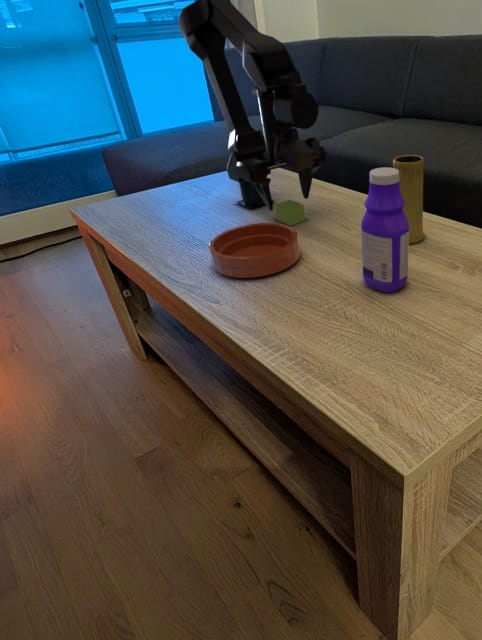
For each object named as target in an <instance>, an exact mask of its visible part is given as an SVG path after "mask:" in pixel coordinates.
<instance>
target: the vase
mask: <svg viewBox="0 0 482 640" xmlns="http://www.w3.org/2000/svg"><path fill="white" fill-rule="evenodd" d="M424 163H425V159H424V157H423V156H421V155H418V154H417V155H416V154H405V155H398V156H396V157H394V158H393V162H392V166H393V167H392V168H395V169H397V170H399V187H400V192H401V195H402V198H403V199H404V201H405V205H404V207H403V211H404V213H405V215H406V217H407V219H408V223H409V245H410V244H416V243H419V242H421V241H422V240H423V239H424V228H423V226H424V223H423V221H424V216H423V215H424V168H425V167H424Z"/></svg>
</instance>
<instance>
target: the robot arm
mask: <svg viewBox="0 0 482 640" xmlns="http://www.w3.org/2000/svg"><path fill="white" fill-rule="evenodd" d="M177 21H178V27H179V31H180V33H181V35H182V37H184V39H185V41H186V44H187V46H188V48H189V50H190V51H191V52H192V53H193V54H194V55H195V56H196V57H197V58H198V59H199V60H201V61H202V63H203V65H204V69H205V71H206V74H207V77H208V79H209V81H210V85H211V87H212V89H213V92H214V95H215V98H216V100H217V102H218V106H219V108H220V111H221V114H222V116H223V119H224V121H225V124H226V128H227V130H228V133H229V139H228V145H227V150H228V152H229V158H228V162H227V166H226V173H227V175H228V178H229V179H230V180H231V181H234V182H237V183H238V185H239V190H240V194H241V195H240V196H241V200H238V201H236V204H237V205H240V206H242V207H244V208H246V209H249V210H253V209H256V208H260V207H262V206H266V208H267V210H269V211H271V212H273V210H274V206H273V205H274V204H273V203H274V199H272V195H271V194H272V193H271V189H270V188H271V187H270V184H271V181H272V179H271V178H269V177H268V176H269V175H271V171H272V170H276V169H280V168H283V167H286V166H288V167H289V168H290V169H291V170H292V171H293V172H297V175H298V181H299V184H300V189H301V193H302V196H303V197H302V198H303V199H305V200H308V199H309V196H310V191H311V187H312V182H313V178H314V176H315V173H316V171H317V170H318V169H319V168H320V167H322V166H323V163H325V162H327V160H328V158H327V157H328V156H327V151H326V149H325V147H324V146H322V145H321V144H320V140H319V139H318V138H317V137H316V136H312V137H307V139H300V137H299V130H298V129H300V130H308V129H310V128H312V127H313V126H314V125H315V124H316V122H317V119H318V117H319V105H318V104H317V103H318V102H317V101H316V99H315V97H314V96H313V95H312V94H311V93H309V92H308V91H307V85H306V83H303V80H302V78H301V74H300V72H299V71H298V68H297V67H296V66H295V63H294V61H293V58H292V56H291V55H290V52H289V50H288V49H287V46H286V45H285V44H284V43H283V42H281V41H280V40H278V39H277V38H275V37H274V36H271V35H269V34H264V33H262V32H260V31H258V29H256V27H255V26H254V25H253V24H252V23H251V22H250V21H249V19H247V18H246V17H245V16H244V14H243V13H241V11H239V10H238V9H237V7H235V5H234V4H233V3H232V1H231V0H196V1H194V2H192V3H190V4H188V5H186V6H185V7H183V8H182V9H181V12H180V14H179V15H178V19H177ZM227 41H228V42H229V43H230V45H232V46H233V47H234V49H235V50H236V51H237V52H238V53H239V54H240V56H241V57H242V67H243V69H244V70H245V72H246V73H247V75H248V77H250V79H251V81H252V82H253V83H254V84H255V86H254V87H253V89H252V91H251V93H252V95H253V96H257V103H258V108H259V113H260V120H261V125H262V128H260V129H258V130H256V129H255V128H254V127H253V126H252V124H251V123H250V120H249V117H248V114H247V111H246V109H245V106H244V104H243V101H242V98H241V94H240V93H239V92H240V91H239V90H238V87H237V84H236V82H235V79H234V76H233V73H232V70H231V68H230V65H229V61H228V59H227V57H226V56H227V55H226V53H225V49H226V42H227Z"/></svg>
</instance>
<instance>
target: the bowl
mask: <svg viewBox="0 0 482 640" xmlns="http://www.w3.org/2000/svg"><path fill="white" fill-rule="evenodd" d="M298 234H299V233H298V232H297V231H296V230H295V229H294V227H292V226H290V225H287V224H280V223H276V222H275V223H272V222H271V223H270V222H260V223H251V224H246V225H241V226H236V227H234V228H231V229H228V230H225V231H223V232H221V233H219V234H217V235H216V236H215V237H214V238H213V239H211V241H210V242H209V245H208V250H209V254H210V257H211V261H212V264H213V267H214V269H215V272H218V273H219V274H221V275H223V276H226V277H231V278H238V279H239V278H240V279H243V278H244V279H251V278H259V277H264V276H269V275H273V274H276V273H279V272H282V271H284V270H286V269H288V268H290V267H291V266H293V265H294V264H295V263H296V262H297V261H298V260H299V258H300V256H301V249H300V243H299V235H298Z"/></svg>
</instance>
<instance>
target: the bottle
mask: <svg viewBox="0 0 482 640" xmlns="http://www.w3.org/2000/svg"><path fill="white" fill-rule="evenodd" d="M363 204H364V207H365V209H366V210H365V212H364V214H363V216H362V219H361V223H360V235H361V236H360V237H361V258H362V259H361V261H362V262H361V263H362V277H363V280H364V283H365V284H366V285H367V286H369V287H370V288H372V289H375V290H377V291H381V292H386V293H393V292H394V293H395V292H397V291H398V290H400V289H401V288H403V287H404V286H405V284H406V283H407V281H408V277H409V248H410V247H409V245H410V244H409V223H408V219H407V217H406V215H405V213H404V211H403V207H404V205H405V201H404V199H403V198H402V195H401V192H400V187H399V170H397V169H395V168H393V167H387V166H386V167H385V166H384V167H377V168H373V169H371V170H370V171H369V188H368V194H367V197H366V199H365V201H364V203H363Z"/></svg>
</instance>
